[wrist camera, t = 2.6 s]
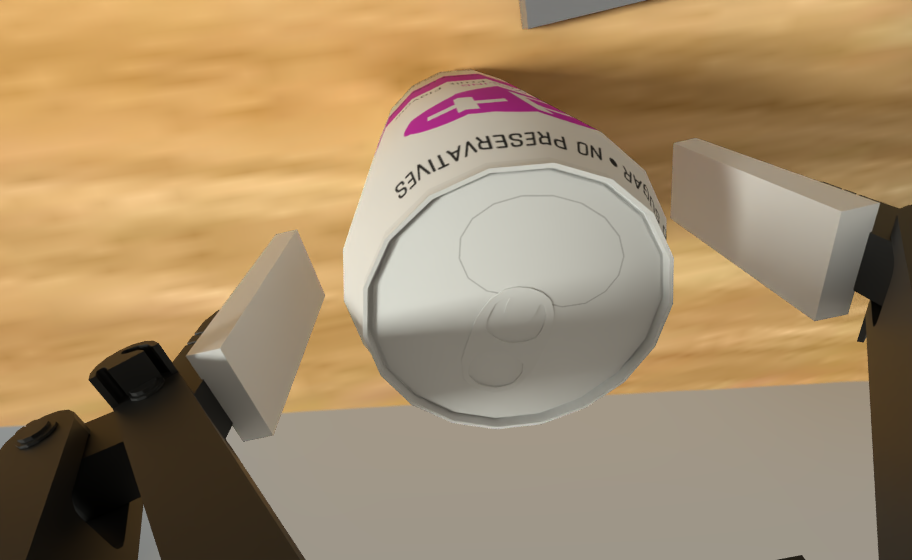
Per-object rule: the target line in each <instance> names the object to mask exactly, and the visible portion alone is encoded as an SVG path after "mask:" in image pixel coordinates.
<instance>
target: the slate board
mask: <svg viewBox="0 0 912 560" xmlns="http://www.w3.org/2000/svg"><path fill="white" fill-rule="evenodd" d="M641 1H645V0H519V4H520V13H521V22H522V29H530V28H534V27H538V26H542V25H546V24H550V23H554V22H559V21H563V20H567V19H571V18H575V17H579V16H583V15H587V14H591V13H596V12H600V11H604V10H608V9H612V8H616V7H620V6H624V5H628V4H632V3H637V2H641Z"/></svg>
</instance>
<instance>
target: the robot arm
mask: <svg viewBox="0 0 912 560" xmlns="http://www.w3.org/2000/svg"><path fill="white" fill-rule="evenodd" d="M671 219H672V220H673V221H675V222H676V223H678V224H679V225H680V226H682V227H683V228H685V229H686V230H687V231H689V232H690V233H692V234H693V235H694V236H696V237H697V238H699V239H700V240H701V241H703V242H704V243H706V244H707V245H709V246H710V247H711V248H713V249H714V250H716V251H717V252H718V253H720V254H721V255H723V256H724V257H725V258H727V259H728V260H730V261H731V262H732V263H734V264H735V265H737V266H738V267H739V268H741V269H742V270H744V271H745V272H746V273H748V274H749V275H751V276H752V277H753V278H755V279H756V280H758V281H759V282H760V283H762V284H763V285H765V286H766V287H767V288H769V289H770V290H772V291H773V292H774V293H776V294H777V295H779V296H780V297H781V298H783V299H784V300H786V301H787V302H788V303H790V304H791V305H793V306H794V307H795V308H797V309H798V310H800V311H801V312H802V313H804V314H805V315H807V316H808V317H810V318H811V319H812V320H814V321H818V320H823V319H827V318H832V317H837V316H842V315H846V314H848V312H849V309H850V305H851V302H852V298H853V295H854V291H856V292H858V293H859V294H861V295H863V296H865V297H866V298H868V299H870V302H869V305H868V308H867V311H866V314H865V318H864V321H863V324H862V327H861V330H860V333H859V337H858V340H857V341H858V342H864V341H865V339H866V337H867V353H868V371H869V389H870V406H871V426H872V442H873V462H874V480H875V498H876V517H877V534H878V552H879V560H912V205H908V206H905V207H903V208H901V209H899V208H896V207H893V206H890V205H887V204H885V203H882V202H879V201H876V200H873V199H870V198H868V197H865V196H862V195H856V193H853V192H851V191H848V190H842V188H839V187H836V186H834V185H831V184H828V183H825V182H820V181H817V180H814V179H811V178H808V177H805V176H803V175H800V174H797V173H794V172H791V171H788V170H786V169H783V168H780V167H777V166H774V165H772V164H769V163H766V162H763V161H760V160H757V159H755V158H752V157H749V156H746V155H743V154H741V153H738V152H735V151H732V150H729V149H726V148H724V147H721V146H718V145H715V144H712V143H710V142H707V141H704V140H701V139H698V138H693V139H688V140H684V141H680V142H675V143H673V166H672V192H671ZM324 297H325V294H324V292H323V289H322V287H321V285H320V282H319V280H318V278H317V275H316V273H315V271H314V268H313V266H312V263H311V261H310V259H309V256H308V254H307V252H306V249H305V247H304V245H303V242H302V240H301V238H300V235H299V233H298V231H297V230H292V231H288V232H284V233H279V234H276V235H275V236H274V237H273V239H272V240H271V241H270V243H269V244H268V245H267V247H266V248H265V250H264V251H263V252H262V254H261V255H260V256H259V258H258V259H257V260H256V262H255V263H254V264H253V266H252V267H251V268H250V270H249V271H248V273H247V274H246V275H245V277H244V278H243V279H242V281H241V282H240V283H239V285H238V286H237V287H236V289H235V290H234V291H233V293H232V294H231V295H230V297H229V298H228V300H227V301H226V302H225V304H224V305H223V306H222V308H221V309H220V310H218V311H217V312H215V313H214V314H213V315H212V316H210V317H209V318H208V319H207V320H205V321H204V322H203V323H202V325H201V326H200V327H199V328H198V330H197V331H196V332H195V336H192V338H191V339H190V340H189V342H188V343H187V344H188V345H186V346H185V347H184V348H183V349H182V351H181V352H180V353H179V355H178V356H177V357H176V359H175V360H174V361H173V362H171V360H170V359H169V357H168V356H167V355H166V353H165V352H164V350H163V349H162V347H161V346H160V345H159V343H157V342H155V341H144V342H140V343H137V344H133V345H131V346H128V347H126V348H124V349H122V350H119V351H118V352H116V353H114V354H113V355H111V356H109V357H107V358H106V359H105V360H104V361H102V362H101V363H100V364H98V365H97V366H96V367H95V369H94V370H93V371H92V372H91V373H90V376H89V381H90V382H91V383H92V385H93V386H94V387H95V388H96V389H97V391H98V392H99V393H100V394H101V395H102V396H103V398H104V399H105V400H106V401H107V402H108V404H109V405H110V406H111V407H112V408H113V410H114V412H111V413H109V414H106V415H104V416H102V417H99V418H97V419H94V420H92V421H89V422H87V423H84V422H83V421H82V420H81V419H80V418H79V417H78V416H77V415H76V414H75V412H73V411H70V410H62V411H57V412H54V413H52V414H49V415H46V416H44V417H42V418H40V419H38V420H34V421H32V422H30V423H28V424H27V425H26V427H22V428H21V429H20V430H18V431H17V432H16V433H15V435H14V436H13V437H11V438H10V439H9V440H8V441H7V442H6V443H5V444H4V445H3V447H2V448H1V449H0V560H138V552H139V541H140V532H141V522H142V512H143V504H144V507H145V510H146V514H147V517H148V520H149V523H150V526H151V529H152V532H153V536H154V539H155V542H156V545H157V548H158V551H159V554H160V557H161V560H305V558H304V557H303V555H302V554H301V552H300V551H299V549H298V548H297V546H296V544H295V543H294V542H293V540H292V538H291V537H290V535H289V534H288V532H287V531H286V529H285V528H284V526H283V525H282V523H281V522H280V520H279V519H278V517H277V516H276V514H275V513H274V511H273V510H272V508H271V507H270V505H269V504H268V502H267V501H266V499H265V497H264V496H263V494H262V493H261V491H260V490H259V488H258V487H257V485H256V484H255V482H254V481H253V479H252V478H251V477H250V475H249V473H248V472H247V470H246V469H245V467H244V466H243V464H242V463H241V461H240V460H239V458H238V457H237V455H236V454H235V452H234V451H233V449H232V448H231V446H230V445H229V444H228V442H227V441H226V437H227V435H228V433H229V430H230V429H231V426H233V427H234V429H235V430H236V432H237V433H238V435H239V436H240V438H241V439H242V440H243V442H245V441H249V440H254V439H259V438H264V437H268V436H272V435H274V432H275V430H276V427H277V424H278V421H279V419H280V416H281V413H282V411H283V408H284V405H285V403H286V400H287V397H288V394H289V392H290V389H291V386H292V384H293V381H294V378H295V376H296V373H297V370H298V367H299V365H300V362H301V359H302V357H303V354H304V351H305V349H306V346H307V343H308V340H309V338H310V335H311V332H312V330H313V327H314V324H315V322H316V319H317V316H318V313H319V311H320V308H321V305H322V303H323V300H324ZM779 560H805V559H804V557H803V556H802V555H800V556H795V557H789V558H785V559H779Z"/></svg>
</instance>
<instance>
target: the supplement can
mask: <svg viewBox="0 0 912 560" xmlns="http://www.w3.org/2000/svg"><path fill="white" fill-rule="evenodd" d="M343 267H344V302H345V304H346V306H347V309H348V311H349V313H350V315H351V317H352V320H353V322H354V324H355V326H356V328H357V331H358V333H359V335H360V337H361V340H362V342H363V344H364V346H365V347H366V348H367V349H368V350H369V352H370V353H371V354H372V357H373V359H374V361H375V363H376V366H377V368H378V370H379V372H380V375H381V376H382V377H383V378H384V379H385V380H386V381H387V382H388V383H389V384H390V385H391V386H393V387H394V388H395V389H396V390H397V391H398V392H399V393H400V394H401V395H402V396H403V397H404V398H405V399H406V400H407V401H408V402H409V403H410V404H411V405H413V406H415V407H418V408H420V409H422V410H424V411H427V412H429V413H431V414H433V415H436V416H437V417H440V418H442V419H444V420H447V421H449V422H451V423H456V424H464V425H470V426H477V427H484V428H491V429H502V428H511V427H520V426H529V425H538V424H543V423H546V422H549V421H552V420H554V419H557V418H560V417H563V416H565V415H568V414H571V413H574V412H576V411H579V410H582V409H584V408H587V407H588V406H590V405H591V404H592V403H594V402H595V401H597V400H598V399H600V398H601V397H603V396H604V395H606V394H607V393H609V392H610V391H612V390H613V389H615V388H616V387H618V386H619V385H621V384H622V383H624V382H625V381H626V380H627V379H628V377H629V376H630V375H631V374H632V373H633V372H634V370H635V369H636V368H637V367H638V366H639V365H640V363H641V362H642V361H643V360H644V359H645V358H646V356H647V355H648V354H649V353H650V352H651V351H652V349H653V348H654V347H655V345H656V343H657V341H658V338H659V336H660V334H661V331H662V329H663V326H664V324H665V322H666V319H667V317H668V314H669V312H670V310H671V307H672V305H673V268H674V257H673V255H672V253H671V251H670V248H669V246H668V244H667V242H666V217H665V215H664V212H663V210H662V208H661V205H660V203H659V201H658V199H657V196H656V194H655V192H654V189H653V187H652V185H651V183H650V180H649V178H648V176H647V173H646V171H645V170H644V169H643V168H642V167H641V166H639V165H638V164H637V163H636V162H635V161H634V160H633V159H631V158H630V157H629V156H628V155H627V154H626V153H625V152H623V151H622V150H621V149H620V148H619V147H618V146H617V145H615V144H614V143H613V142H612V141H611V140H610V139H609V138H607V137H606V136H605V135H604V134H603V133H602V132H600V131H598V130H596V129H594V128H592V127H590V126H589V125H587V124H585V123H583V122H581V121H579V120H577V119H575V118H573V117H572V116H570V115H568V114H566V113H564V112H562V111H560V110H558V109H556V108H555V107H553V106H551V105H549V104H547V103H545V102H543V101H541V100H539V99H538V98H536V97H534V96H532V95H530V94H528V93H526V92H524V91H522V90H521V89H519V88H517V87H515V86H513V85H511V84H509V83H507V82H506V81H504V80H502V79H500V78H496V77H493V76H490V75H487V74H484V73H481V72H478V71H475V70H472V69H470V70H457V71H445V72H439V73H437V74H435V75H433V76H431V77H429V78H427V79H425V80H423V81H421V82H419V83H417V84H415V85H413V86H412V87H411V88H410V89H409V90H408V91H407V92H406V93H405V95H404V96H403V97H402V98H401V99H400V100H399V101H398V102H397V103H396V104H395V106H394V107H393V108H392V109H391V112H390V114H389V117H388V119H387V122H386V124H385V127H384V129H383V132H382V134H381V137H380V140H379V143H378V146H377V149H376V152H375V155H374V158H373V161H372V164H371V167H370V170H369V173H368V176H367V179H366V182H365V185H364V188H363V191H362V194H361V197H360V200H359V203H358V206H357V209H356V212H355V215H354V218H353V221H352V224H351V227H350V230H349V233H348V236H347V239H346V242H345V245H344V248H343Z"/></svg>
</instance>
